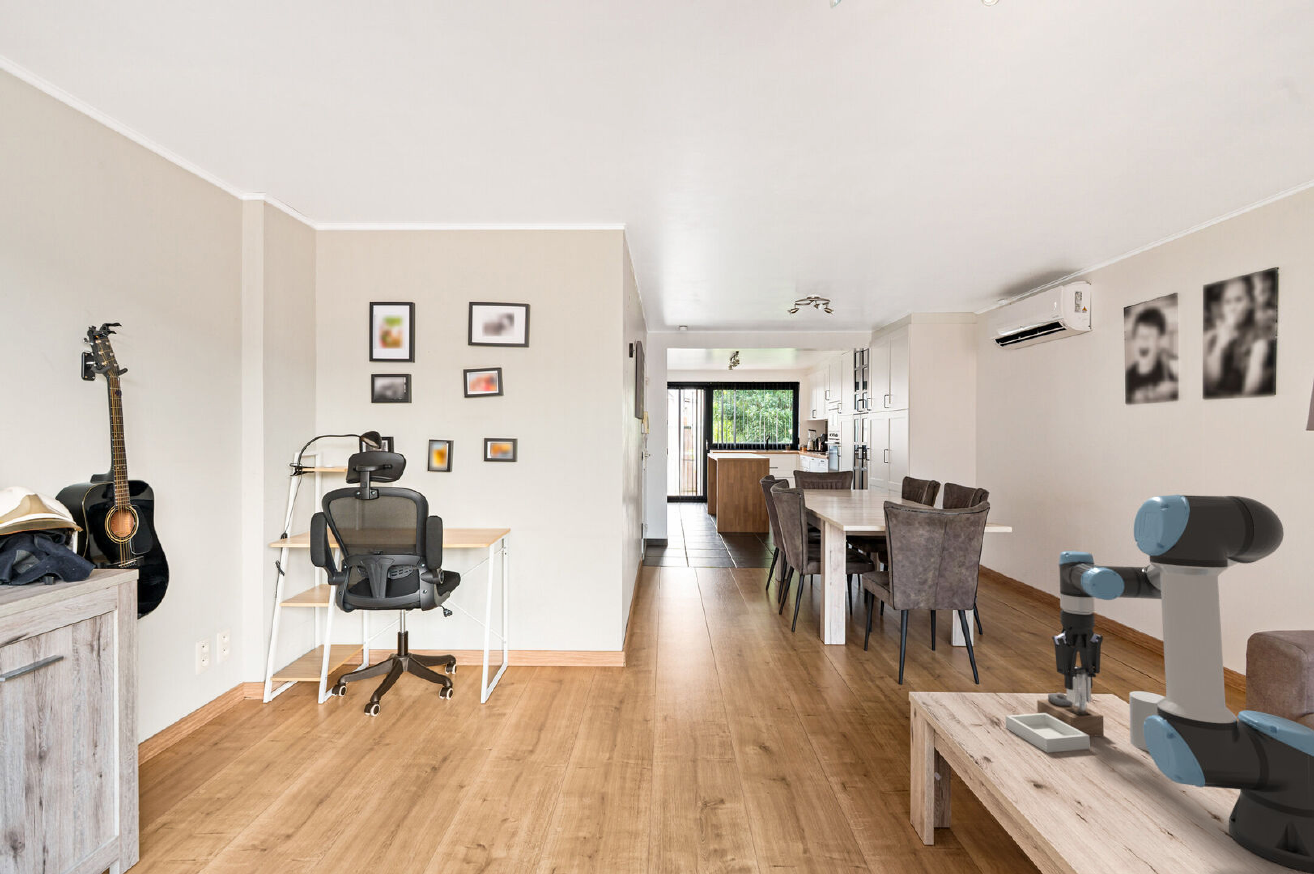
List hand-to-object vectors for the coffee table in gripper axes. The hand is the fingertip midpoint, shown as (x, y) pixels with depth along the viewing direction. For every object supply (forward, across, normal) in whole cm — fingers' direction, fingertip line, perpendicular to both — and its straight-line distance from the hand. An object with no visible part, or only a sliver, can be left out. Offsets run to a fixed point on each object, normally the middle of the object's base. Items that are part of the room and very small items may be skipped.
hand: (1078, 700), depth 165 cm
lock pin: (+7, 0, 0) cm, 7 cm away
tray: (+8, +11, +2) cm, 14 cm away
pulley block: (+8, 0, -3) cm, 9 cm away
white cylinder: (+8, -11, +10) cm, 17 cm away
